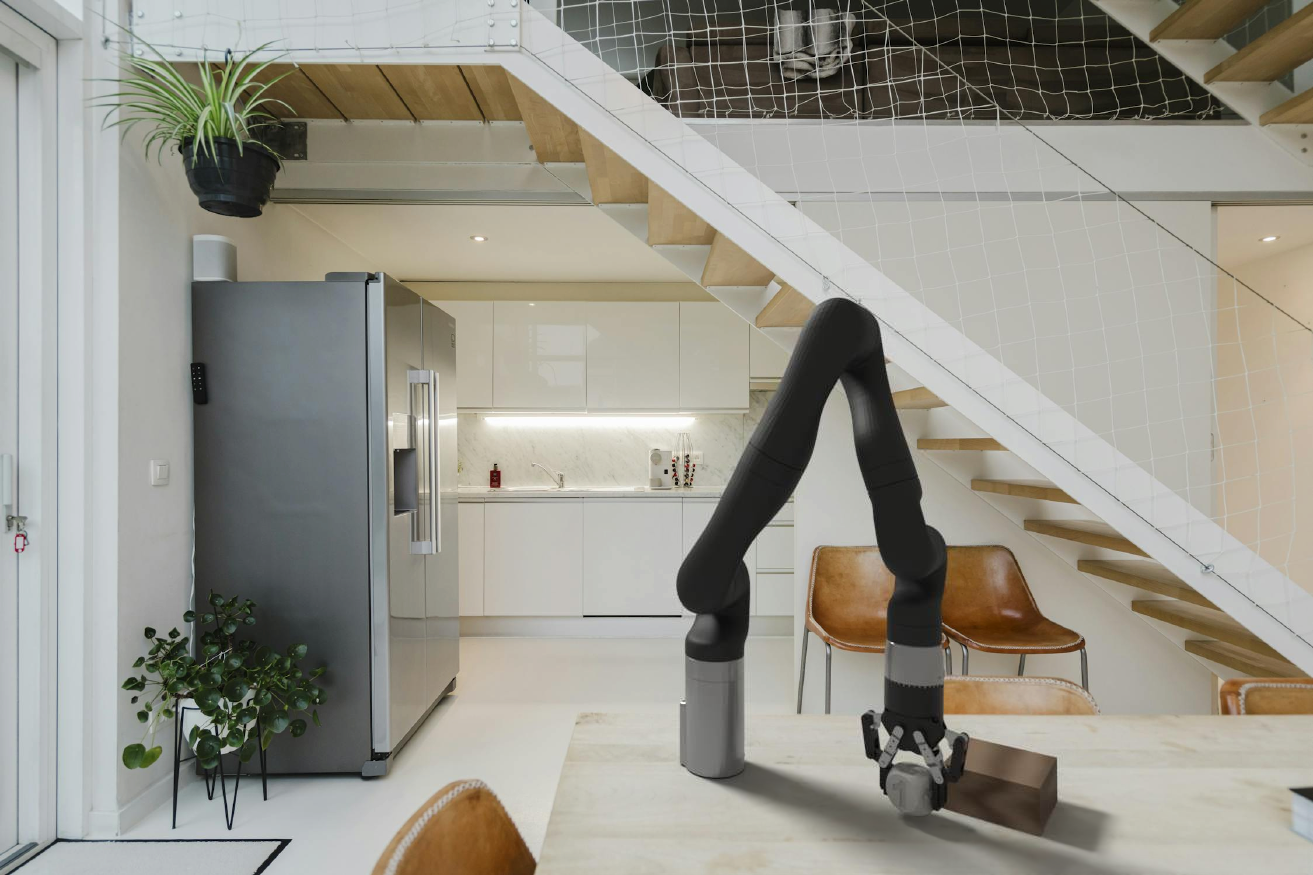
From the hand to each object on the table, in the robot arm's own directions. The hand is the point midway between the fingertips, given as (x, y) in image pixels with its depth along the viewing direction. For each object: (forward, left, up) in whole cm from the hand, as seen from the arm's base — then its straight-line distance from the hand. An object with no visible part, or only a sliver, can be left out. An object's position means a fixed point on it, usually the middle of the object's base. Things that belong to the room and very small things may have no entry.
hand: (912, 800), depth 97 cm
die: (0, 0, -1) cm, 1 cm away
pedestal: (+8, +11, -2) cm, 14 cm away
